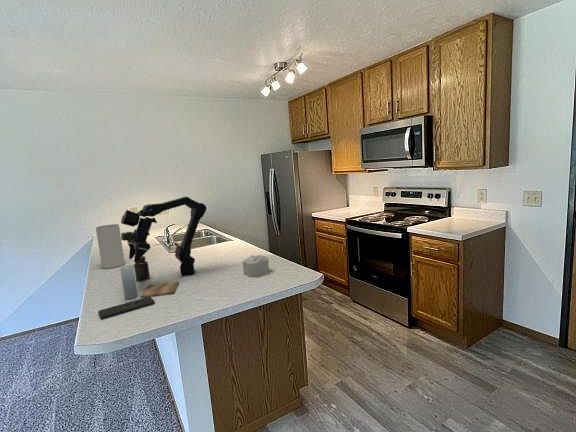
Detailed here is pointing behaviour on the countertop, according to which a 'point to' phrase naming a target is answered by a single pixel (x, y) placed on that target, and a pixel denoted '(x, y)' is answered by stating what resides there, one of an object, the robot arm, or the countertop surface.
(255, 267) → the lumpy-topped squat cylinder
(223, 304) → the countertop surface
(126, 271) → the slate round-topped tapered cone
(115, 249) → the cylinder vase
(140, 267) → the supplement bottle
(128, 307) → the smart home device
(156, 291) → the walnut board
